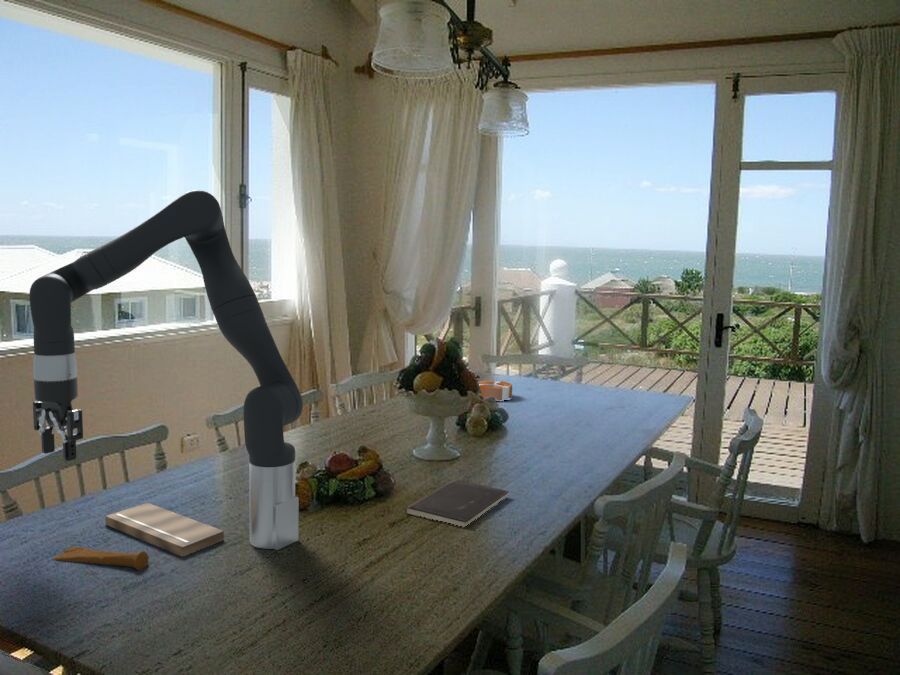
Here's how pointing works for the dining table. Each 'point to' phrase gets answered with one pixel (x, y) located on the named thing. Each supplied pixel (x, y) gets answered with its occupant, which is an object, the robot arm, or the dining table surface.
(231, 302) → the robot arm
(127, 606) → the dining table surface
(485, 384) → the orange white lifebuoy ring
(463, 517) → the hardcover book
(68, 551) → the primitive tool
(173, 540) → the pale wooden board
